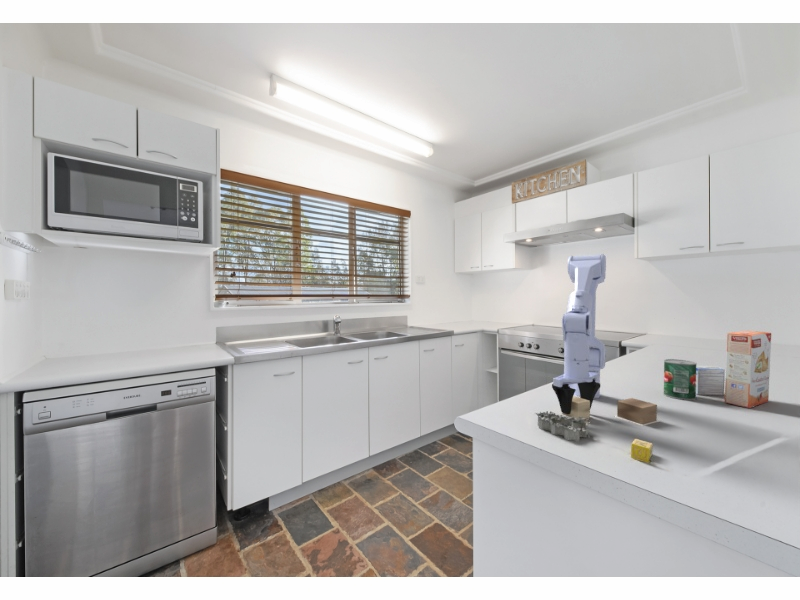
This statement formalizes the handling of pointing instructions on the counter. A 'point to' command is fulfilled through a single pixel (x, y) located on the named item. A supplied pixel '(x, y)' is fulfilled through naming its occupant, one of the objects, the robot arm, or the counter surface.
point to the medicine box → (710, 380)
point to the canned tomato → (680, 379)
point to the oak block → (579, 408)
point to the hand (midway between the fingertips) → (575, 411)
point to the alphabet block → (641, 450)
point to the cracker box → (747, 368)
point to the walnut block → (637, 411)
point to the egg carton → (557, 427)
